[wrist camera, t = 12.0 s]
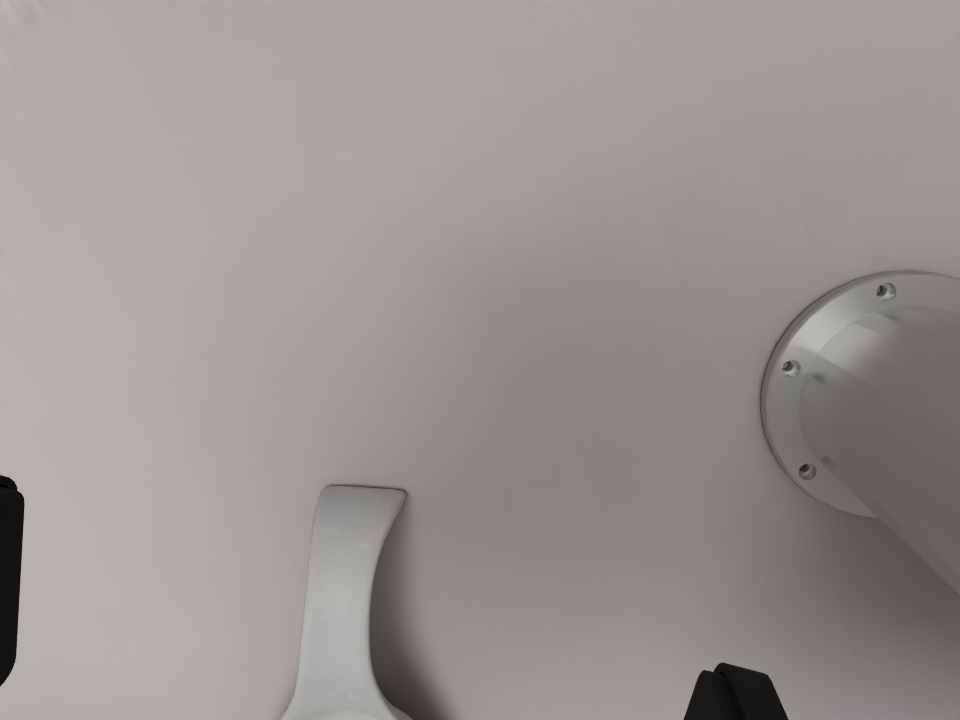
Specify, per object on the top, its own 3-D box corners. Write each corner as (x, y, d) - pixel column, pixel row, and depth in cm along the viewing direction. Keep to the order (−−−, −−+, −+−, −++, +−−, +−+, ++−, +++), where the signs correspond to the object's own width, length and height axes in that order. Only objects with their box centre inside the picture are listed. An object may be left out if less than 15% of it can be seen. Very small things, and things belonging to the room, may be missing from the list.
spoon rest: (464, 834, 44) (449, 954, 37) (284, 818, 45) (236, 932, 38) (465, 486, 38) (447, 550, 31) (261, 477, 39) (199, 537, 32)
